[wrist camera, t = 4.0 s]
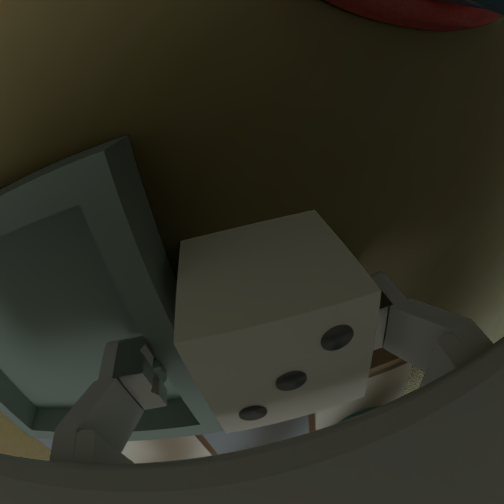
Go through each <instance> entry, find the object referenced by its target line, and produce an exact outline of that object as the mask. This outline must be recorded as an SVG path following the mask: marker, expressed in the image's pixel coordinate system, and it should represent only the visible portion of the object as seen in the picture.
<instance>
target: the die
mask: <svg viewBox="0 0 504 504" xmlns="http://www.w3.org/2000/svg"><path fill="white" fill-rule="evenodd" d="M380 299H381V289H380V288H379V287H378V285H377V284H376V283H375V281H374V280H373V279H372V278H371V276H370V275H369V274H368V273H367V271H366V270H365V269H364V268H363V266H362V265H361V264H360V263H359V261H358V260H357V259H356V258H355V257H354V255H353V254H352V253H351V252H350V250H349V249H348V248H347V247H346V246H345V244H344V243H343V242H342V241H341V240H340V238H339V237H338V236H337V235H336V234H335V233H334V231H333V230H332V229H331V228H330V227H329V226H328V224H327V223H326V222H325V221H324V220H323V219H322V217H321V216H320V215H319V214H318V213H317V212H316V211H315V210H310V211H306V212H301V213H297V214H292V215H288V216H283V217H279V218H275V219H270V220H266V221H262V222H257V223H253V224H249V225H244V226H240V227H236V228H232V229H228V230H223V231H219V232H215V233H211V234H207V235H203V236H199V237H195V238H191V239H187V240H182V241H180V252H179V263H178V276H177V289H176V305H175V322H174V345H175V347H176V349H177V351H178V353H179V355H180V357H181V358H182V360H183V362H184V364H185V366H186V368H187V369H188V371H189V373H190V375H191V377H192V378H193V380H194V382H195V384H196V385H197V387H198V389H199V391H200V392H201V394H202V396H203V397H204V399H205V401H206V402H207V404H208V406H209V407H210V409H211V411H212V412H213V414H214V416H215V417H216V419H217V420H218V422H219V423H220V425H221V427H222V428H223V430H224V431H225V433H226V434H227V433H232V432H238V431H243V430H248V429H253V428H258V427H262V426H267V425H271V424H275V423H279V422H283V421H287V420H291V419H295V418H299V417H302V416H306V415H310V414H313V413H316V412H320V411H323V410H326V409H329V408H333V407H336V406H339V405H342V404H345V403H348V402H350V401H353V400H356V399H359V398H362V397H364V396H365V391H366V386H367V381H368V376H369V371H370V366H371V360H372V355H373V349H374V343H375V336H376V330H377V323H378V315H379V307H380Z"/></svg>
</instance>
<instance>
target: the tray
mask: <svg viewBox="0 0 504 504" xmlns="http://www.w3.org/2000/svg"><path fill="white" fill-rule="evenodd" d="M176 289H177V281H176V278H175V275H174V273H173V270H172V268H171V265H170V262H169V260H168V257H167V254H166V251H165V249H164V246H163V243H162V240H161V237H160V235H159V232H158V229H157V226H156V223H155V220H154V217H153V214H152V211H151V208H150V205H149V202H148V199H147V196H146V193H145V190H144V187H143V183H142V180H141V177H140V174H139V171H138V167H137V164H136V160H135V157H134V154H133V150H132V147H131V143H130V140H129V136H128V135H126V136H123V137H120V138H117V139H114V140H111V141H108V142H106V143H103V144H100V145H98V146H95V147H92V148H90V149H87V150H85V151H82V152H79V153H77V154H75V155H72V156H70V157H67V158H65V159H63V160H60V161H58V162H56V163H53V164H51V165H49V166H47V167H45V168H42V169H40V170H38V171H36V172H34V173H32V174H30V175H28V176H26V177H24V178H22V179H20V180H18V181H16V182H14V183H12V184H10V185H8V186H6V187H4V188H2V189H0V411H1V412H2V413H3V414H4V415H5V416H6V417H8V418H9V419H10V420H11V421H12V422H13V423H14V424H16V425H17V426H18V427H19V428H20V429H21V430H23V431H24V432H25V433H26V434H28V435H29V436H30V437H31V438H39V439H50V440H53V437H54V432H55V428H56V427H57V426H58V424H59V423H60V422H61V421H62V419H63V418H64V417H65V416H66V414H67V413H68V412H69V411H70V410H71V408H72V407H73V406H74V405H75V403H76V402H77V401H78V400H79V399H80V397H81V396H82V395H83V394H84V393H85V391H86V390H87V389H88V388H89V387H90V385H91V384H92V383H93V382H94V381H98V377H99V372H100V367H101V362H102V357H103V353H104V348H105V345H106V344H107V343H108V342H112V341H118V340H122V339H128V338H133V337H139V336H143V337H144V338H146V339H147V340H148V342H149V344H150V345H151V347H152V349H153V350H154V356H155V357H156V359H158V360H160V362H161V363H162V365H163V367H164V368H165V370H166V371H167V379H166V381H165V382H164V386H165V387H166V388H167V406H164V407H159V408H153V409H147V410H144V412H143V414H142V416H141V418H140V420H139V422H138V423H137V425H136V427H135V429H134V431H133V433H132V434H131V436H130V438H129V440H128V441H141V440H156V439H168V438H178V437H186V436H194V435H202V434H209V433H215V432H221V431H224V430H223V428H222V427H221V425H220V423H219V422H218V420H217V419H216V417H215V416H214V414H213V412H212V411H211V409H210V407H209V406H208V404H207V402H206V401H205V399H204V397H203V396H202V394H201V392H200V391H199V389H198V387H197V385H196V384H195V382H194V380H193V378H192V377H191V375H190V373H189V371H188V369H187V368H186V366H185V364H184V362H183V360H182V358H181V357H180V355H179V353H178V351H177V349H176V347H175V345H174V322H175V305H176Z"/></svg>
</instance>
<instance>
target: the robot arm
mask: <svg viewBox="0 0 504 504" xmlns="http://www.w3.org/2000/svg"><path fill="white" fill-rule="evenodd" d="M370 276H371V278H372V279H373V280H374V281H375V283H376V284H377V285H378V287H379V288H380V289H381V299H380V307H379V315H378V323H377V330H376V336H375V343H374V349H373V350H376V349H379V348H382V347H383V348H384V349H385V350H387V351H389V352H391V353H392V354H394V355H396V356H398V357H399V358H401V359H403V360H404V361H406V362H408V363H410V364H411V365H413V366H415V367H417V368H418V369H420V370H422V371H424V372H425V374H424V377H423V379H422V382H421V384H420V387H419V388H418V389H416V390H414V391H412V392H410V393H408V394H406V395H404V396H402V397H400V398H398V399H395V400H393V401H391V402H389V403H387V404H384V405H382V406H380V407H377V408H375V409H373V410H370V411H368V412H365V413H363V414H360V415H358V416H355V417H353V418H350V419H347V420H345V421H342V422H339V423H336V424H334V425H331V426H328V427H325V428H322V429H319V430H316V431H313V432H309V433H306V434H303V435H299V436H296V437H293V438H289V439H285V440H282V441H278V442H274V443H270V444H266V445H262V446H258V447H253V448H249V449H244V450H239V451H234V452H229V453H223V454H218V455H212V456H205V457H199V458H191V459H183V460H174V461H164V462H151V463H134V462H133V461H132V460H130V459H129V458H127V457H126V456H125V455H123V454H122V451H123V449H124V447H125V445H126V444H127V442H128V440H129V438H130V436H131V434H132V433H133V431H134V429H135V427H136V425H137V423H138V422H139V420H140V418H141V416H142V414H143V412H144V410H147V409H153V408H159V407H164V406H167V388H166V387H165V386H164V382H165V381H166V379H167V371H166V370H165V368H164V367H163V365H162V363H161V362H160V360H158V359H156V357H155V356H154V350H153V349H152V347H151V345H150V344H149V342H148V340H147V339H146V338H144V337H143V336H139V337H133V338H128V339H122V340H118V341H112V342H108V343H107V344H106V345H105V348H104V353H103V357H102V362H101V367H100V372H99V377H98V381H94V382H93V383H92V384H91V385H90V387H89V388H88V389H87V390H86V391H85V393H84V394H83V395H82V396H81V397H80V399H79V400H78V401H77V402H76V403H75V405H74V406H73V407H72V408H71V410H70V411H69V412H68V413H67V414H66V416H65V417H64V418H63V419H62V421H61V422H60V423H59V424H58V426H57V427H56V428H55V432H54V437H53V443H52V449H51V455H50V461H44V460H36V459H29V458H22V457H16V456H10V455H5V454H0V504H504V337H502V338H501V339H500V340H498V341H497V342H495V343H494V344H493V343H492V342H491V341H490V339H489V338H488V337H487V336H486V335H485V334H484V333H483V331H482V330H481V329H480V328H479V327H478V326H477V325H476V324H475V323H474V321H473V320H472V319H469V318H466V317H464V316H461V315H458V314H455V313H452V312H450V311H447V310H444V309H441V308H438V307H436V306H433V305H430V304H427V303H424V302H421V301H419V300H416V299H413V298H410V299H407V298H406V297H405V296H404V294H403V293H402V292H401V291H400V290H399V289H398V288H397V287H396V286H395V284H394V283H393V282H392V281H391V280H390V279H389V278H388V277H387V276H386V275H385V274H384V272H381V271H379V272H376V273H373V274H370Z"/></svg>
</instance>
